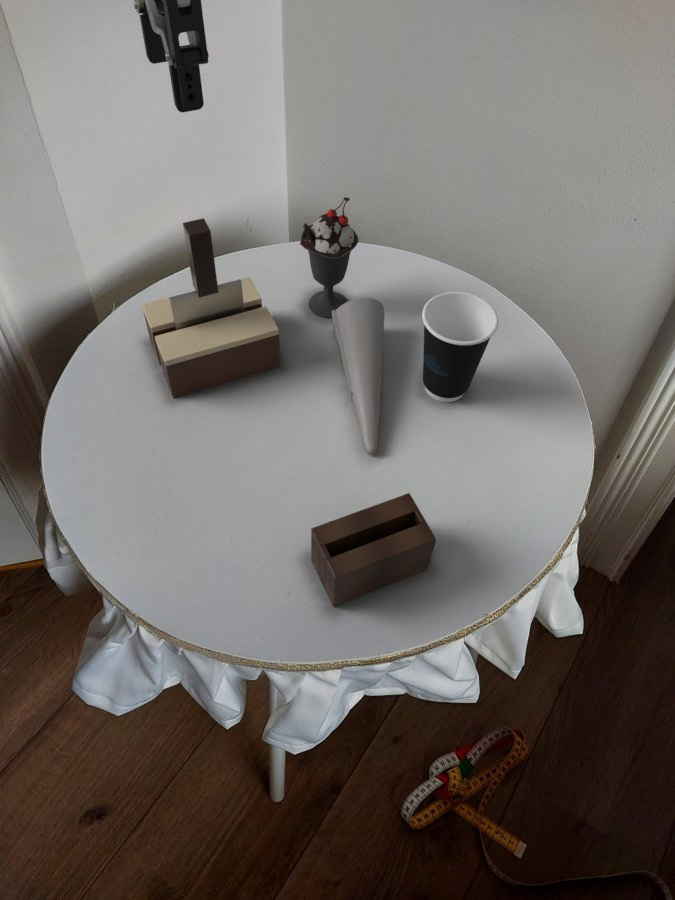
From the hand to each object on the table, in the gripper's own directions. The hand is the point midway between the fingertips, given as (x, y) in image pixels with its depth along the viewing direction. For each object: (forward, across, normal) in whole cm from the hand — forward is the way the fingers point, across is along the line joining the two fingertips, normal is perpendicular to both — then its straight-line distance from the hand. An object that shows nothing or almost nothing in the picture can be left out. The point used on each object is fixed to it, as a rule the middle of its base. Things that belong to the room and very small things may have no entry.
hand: (174, 84), depth 61 cm
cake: (+32, 0, 0) cm, 32 cm away
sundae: (+32, -3, +16) cm, 36 cm away
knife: (+32, 0, 0) cm, 32 cm away
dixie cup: (+32, +15, +23) cm, 42 cm away
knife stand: (+32, +32, +5) cm, 46 cm away
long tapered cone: (+32, +12, +15) cm, 38 cm away
